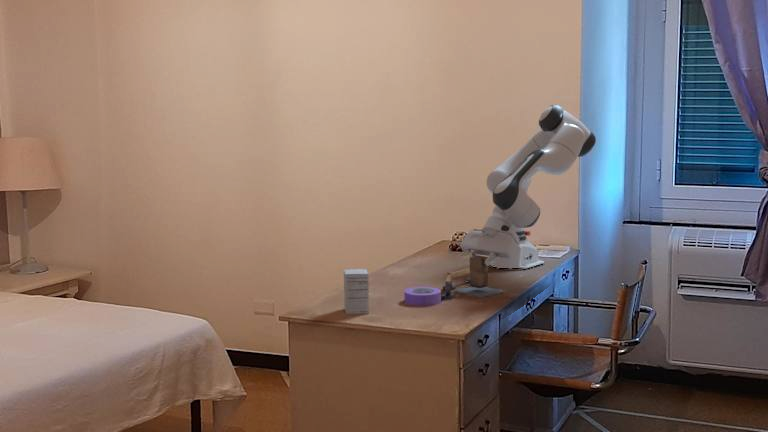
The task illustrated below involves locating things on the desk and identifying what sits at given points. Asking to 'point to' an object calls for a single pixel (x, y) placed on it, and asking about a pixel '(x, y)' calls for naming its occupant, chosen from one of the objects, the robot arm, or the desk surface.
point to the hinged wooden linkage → (448, 283)
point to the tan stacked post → (478, 272)
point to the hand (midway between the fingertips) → (478, 263)
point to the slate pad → (478, 292)
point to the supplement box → (356, 291)
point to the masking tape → (422, 296)
